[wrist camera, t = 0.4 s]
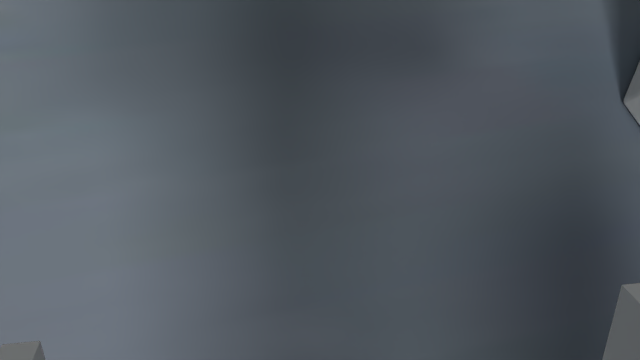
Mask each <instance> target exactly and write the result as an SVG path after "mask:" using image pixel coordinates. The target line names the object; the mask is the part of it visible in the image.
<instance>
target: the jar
mask: <svg viewBox="0 0 640 360" xmlns="http://www.w3.org/2000/svg"><path fill="white" fill-rule="evenodd" d="M624 104H625V106H626V107H627V109H628V110H629V111H630V113H631V114H632V115H633V117H634V118H635V120H636V121H637V122H638V124H639V125H640V61H639V64H638V66H637V68H636V71H635V73H634V76H633V78H632V81H631V83H630V85H629V88H628V90H627V93H626V95H625V97H624Z"/></svg>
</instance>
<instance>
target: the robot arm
mask: <svg viewBox="0 0 640 360" xmlns="http://www.w3.org/2000/svg"><path fill="white" fill-rule="evenodd" d="M0 360H45V356H44V353H43V349H42V346H41V342H40V341H34V342H24V343H13V344H3V345H2V346H1V348H0ZM602 360H640V283H635V284H625V285H622V286H621V290H620V293H619V297H618V301H617V305H616V309H615V313H614V316H613V320H612V324H611V328H610V332H609V336H608V340H607V343H606V347H605V351H604V355H603V359H602Z"/></svg>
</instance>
